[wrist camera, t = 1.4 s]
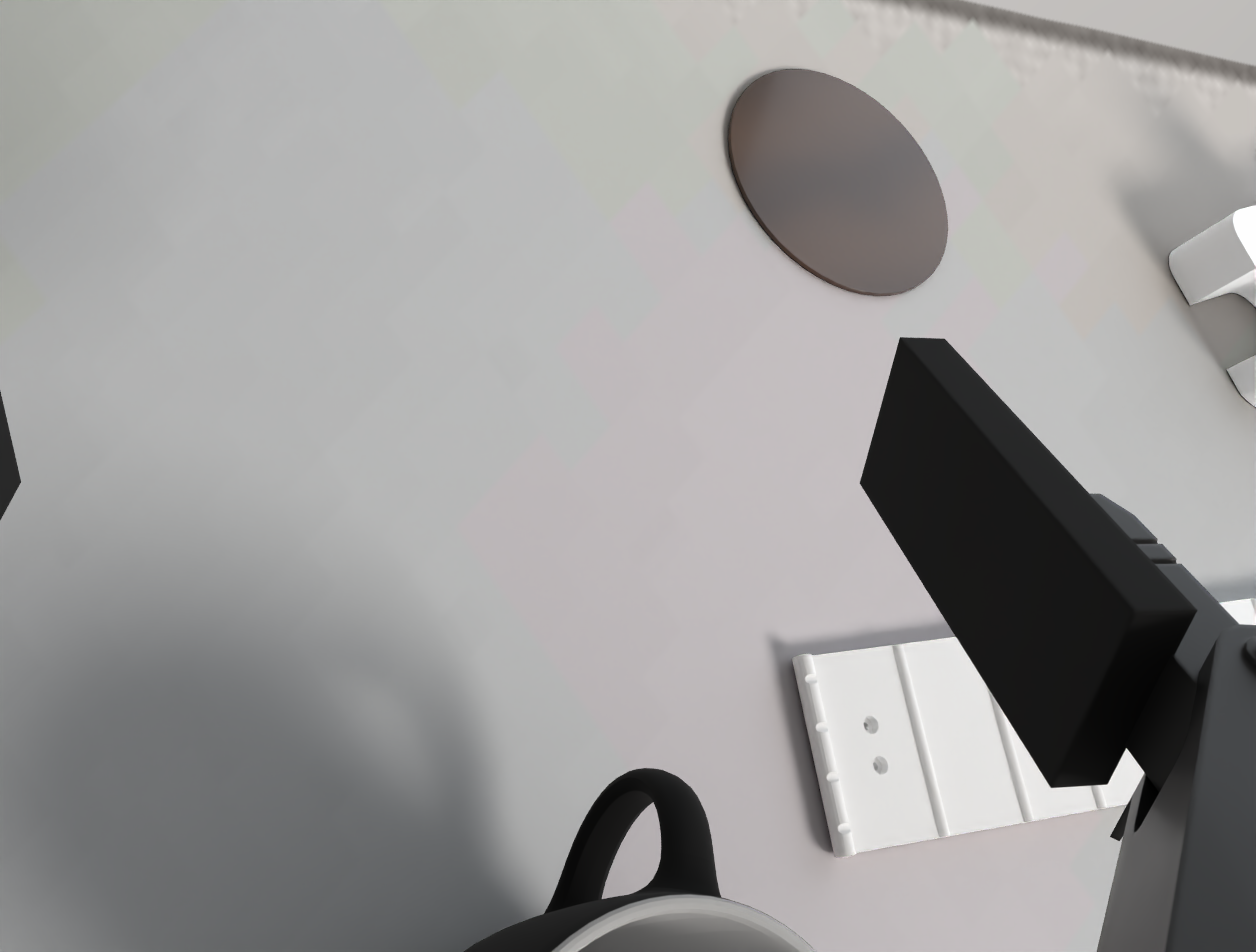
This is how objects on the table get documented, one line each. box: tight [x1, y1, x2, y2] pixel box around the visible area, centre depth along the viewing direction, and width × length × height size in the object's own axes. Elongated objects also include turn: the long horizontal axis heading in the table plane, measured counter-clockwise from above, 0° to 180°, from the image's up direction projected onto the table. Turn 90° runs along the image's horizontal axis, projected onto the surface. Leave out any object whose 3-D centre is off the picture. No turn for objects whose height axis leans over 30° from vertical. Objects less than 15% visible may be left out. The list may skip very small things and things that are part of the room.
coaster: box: [728, 69, 948, 296], centre depth 45 cm, size 11×11×1 cm
